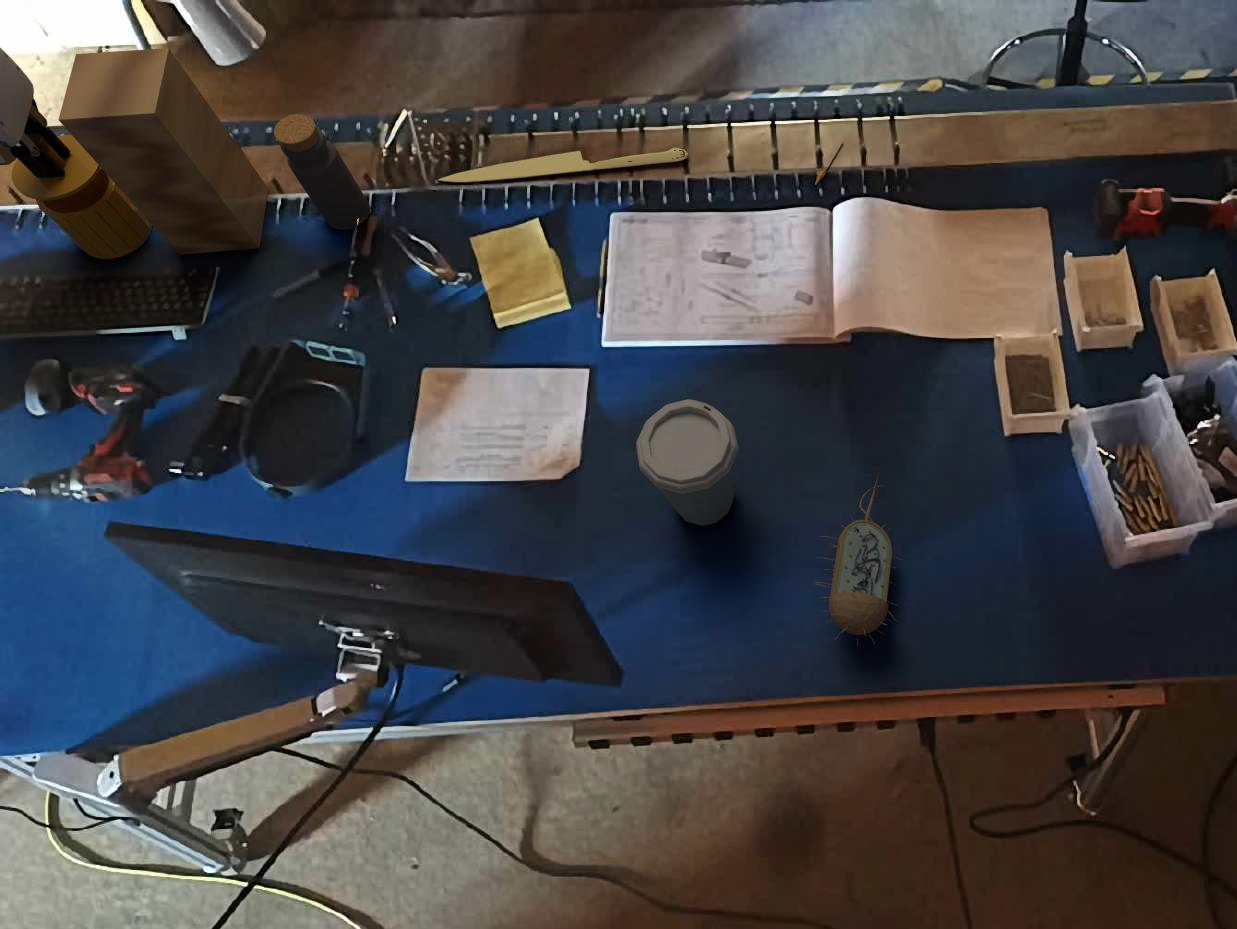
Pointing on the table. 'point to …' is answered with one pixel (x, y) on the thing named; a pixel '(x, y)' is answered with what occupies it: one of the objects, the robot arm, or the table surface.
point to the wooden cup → (99, 219)
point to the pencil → (820, 176)
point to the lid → (76, 177)
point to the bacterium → (860, 576)
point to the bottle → (321, 172)
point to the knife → (559, 166)
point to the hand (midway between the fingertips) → (53, 164)
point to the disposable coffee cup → (690, 459)
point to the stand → (165, 149)
